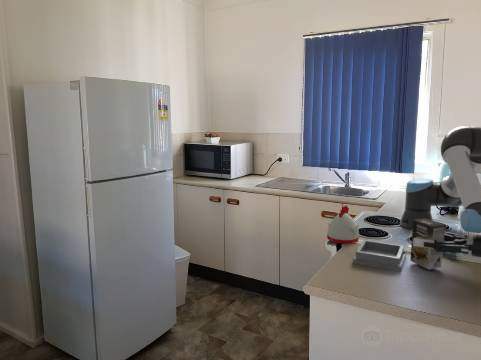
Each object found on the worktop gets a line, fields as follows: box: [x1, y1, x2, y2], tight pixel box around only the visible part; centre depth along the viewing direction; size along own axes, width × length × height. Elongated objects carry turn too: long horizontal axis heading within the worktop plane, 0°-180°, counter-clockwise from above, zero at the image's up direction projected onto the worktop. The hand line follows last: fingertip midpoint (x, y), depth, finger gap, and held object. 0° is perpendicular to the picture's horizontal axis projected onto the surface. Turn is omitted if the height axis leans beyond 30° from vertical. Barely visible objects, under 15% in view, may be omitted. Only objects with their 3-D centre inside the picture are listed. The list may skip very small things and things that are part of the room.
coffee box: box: [410, 218, 446, 271], centre depth 141 cm, size 9×6×16 cm
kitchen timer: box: [326, 205, 360, 245], centre depth 174 cm, size 14×14×15 cm
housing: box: [352, 239, 407, 272], centre depth 150 cm, size 17×17×4 cm
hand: (414, 237), depth 143 cm, fingers closed on coffee box, 10 cm apart
